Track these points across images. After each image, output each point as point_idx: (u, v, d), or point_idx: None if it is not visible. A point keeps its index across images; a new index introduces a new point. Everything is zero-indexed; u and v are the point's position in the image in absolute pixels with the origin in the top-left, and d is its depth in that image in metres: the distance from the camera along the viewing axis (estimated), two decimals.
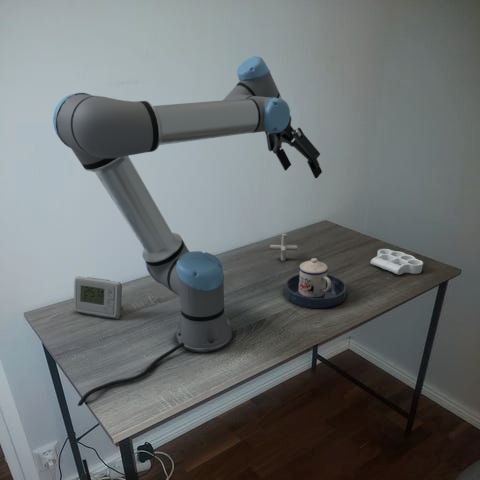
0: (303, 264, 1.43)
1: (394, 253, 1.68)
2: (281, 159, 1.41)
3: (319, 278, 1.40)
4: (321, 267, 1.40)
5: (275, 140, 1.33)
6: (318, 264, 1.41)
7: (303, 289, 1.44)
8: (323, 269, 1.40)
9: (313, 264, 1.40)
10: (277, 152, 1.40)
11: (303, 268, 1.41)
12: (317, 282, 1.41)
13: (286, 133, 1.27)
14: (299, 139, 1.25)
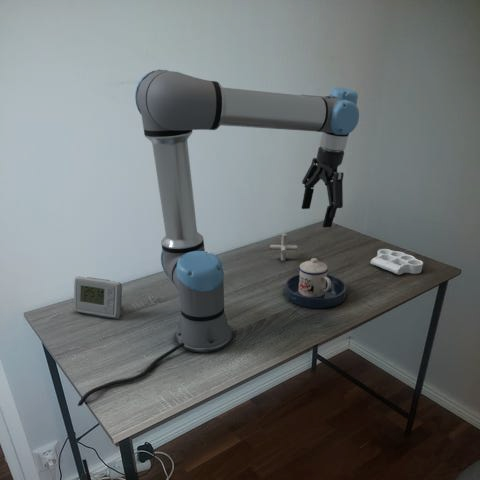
0: (303, 264, 1.43)
1: (394, 253, 1.68)
2: (306, 196, 1.43)
3: (319, 278, 1.40)
4: (321, 267, 1.40)
5: (315, 173, 1.36)
6: (318, 264, 1.41)
7: (303, 289, 1.44)
8: (323, 269, 1.40)
9: (313, 264, 1.40)
10: (307, 188, 1.43)
11: (303, 268, 1.41)
12: (317, 282, 1.41)
13: (329, 170, 1.30)
14: (336, 181, 1.28)
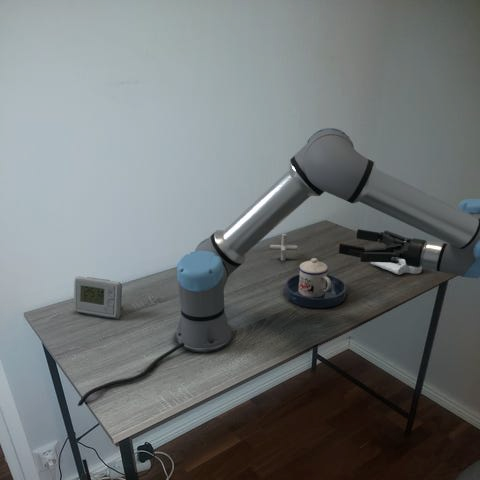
0: (303, 264, 1.43)
1: None
2: (371, 233, 1.33)
3: (319, 278, 1.40)
4: (321, 267, 1.40)
5: (397, 239, 1.26)
6: (318, 264, 1.41)
7: (303, 289, 1.44)
8: (323, 269, 1.40)
9: (313, 264, 1.40)
10: (379, 235, 1.33)
11: (303, 268, 1.41)
12: (317, 282, 1.41)
13: (401, 250, 1.21)
14: (390, 255, 1.19)
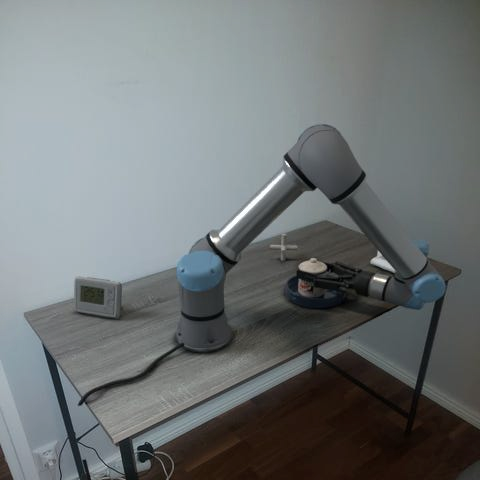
0: (302, 264, 1.43)
1: None
2: None
3: None
4: (321, 267, 1.40)
5: (348, 270, 1.39)
6: (317, 264, 1.40)
7: (302, 289, 1.44)
8: (322, 269, 1.40)
9: (312, 264, 1.40)
10: (330, 265, 1.45)
11: (303, 268, 1.40)
12: None
13: (351, 281, 1.33)
14: (338, 284, 1.32)
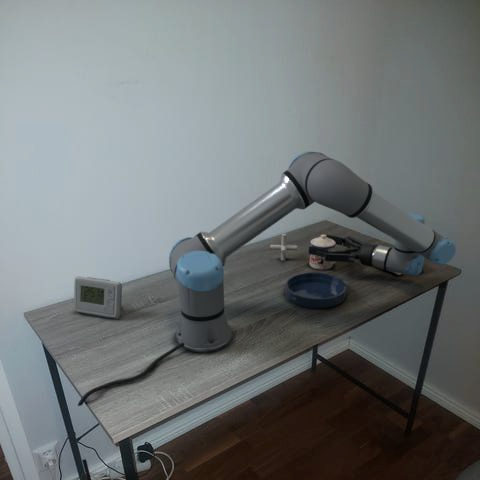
0: (314, 240, 1.62)
1: None
2: (336, 238, 1.65)
3: None
4: (330, 242, 1.59)
5: (355, 243, 1.58)
6: (327, 239, 1.60)
7: (313, 262, 1.63)
8: (332, 244, 1.59)
9: (322, 239, 1.60)
10: (343, 239, 1.64)
11: (314, 243, 1.60)
12: None
13: (357, 252, 1.52)
14: (347, 256, 1.50)
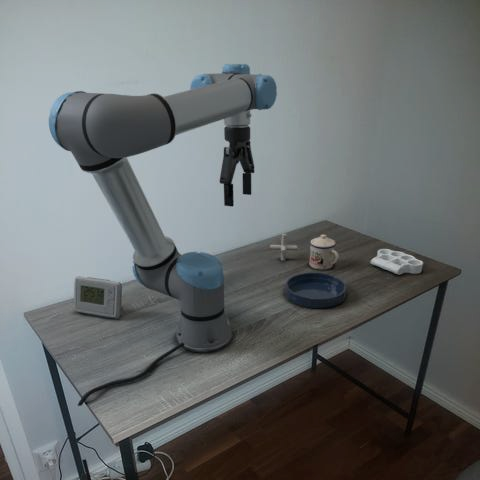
0: (313, 240, 1.62)
1: (394, 253, 1.68)
2: (243, 180, 1.42)
3: (328, 252, 1.59)
4: (330, 242, 1.59)
5: None
6: (327, 239, 1.60)
7: (313, 262, 1.63)
8: (331, 244, 1.59)
9: (322, 239, 1.60)
10: (245, 172, 1.42)
11: (314, 243, 1.60)
12: (326, 256, 1.60)
13: None
14: (224, 155, 1.27)
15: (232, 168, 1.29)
